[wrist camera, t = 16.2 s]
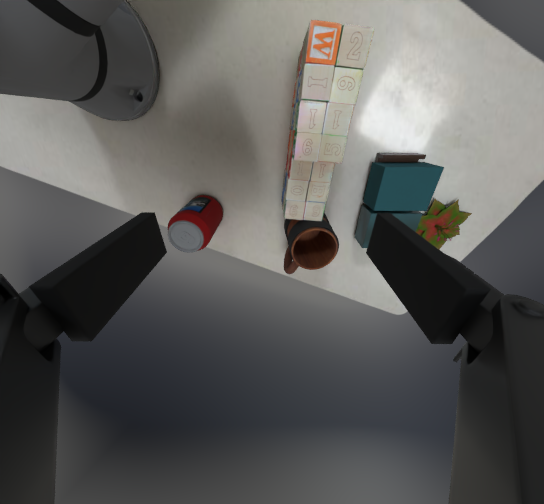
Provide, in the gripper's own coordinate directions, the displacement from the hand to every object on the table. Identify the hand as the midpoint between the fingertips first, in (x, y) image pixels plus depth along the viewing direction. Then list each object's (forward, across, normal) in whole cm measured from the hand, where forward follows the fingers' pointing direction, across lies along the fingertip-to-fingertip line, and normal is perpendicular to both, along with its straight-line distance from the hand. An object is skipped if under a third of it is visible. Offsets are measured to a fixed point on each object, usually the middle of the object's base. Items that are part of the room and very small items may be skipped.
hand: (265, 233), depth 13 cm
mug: (+29, +6, -13) cm, 32 cm away
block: (+28, +22, -3) cm, 36 cm away
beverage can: (+29, -13, -9) cm, 33 cm away
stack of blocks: (+29, +6, +3) cm, 30 cm away
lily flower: (+29, +34, -12) cm, 46 cm away
